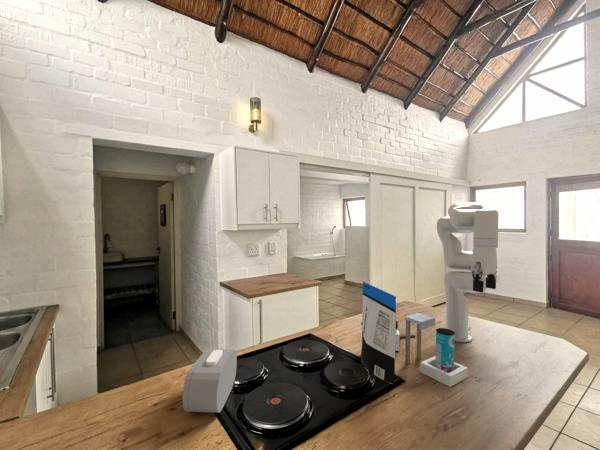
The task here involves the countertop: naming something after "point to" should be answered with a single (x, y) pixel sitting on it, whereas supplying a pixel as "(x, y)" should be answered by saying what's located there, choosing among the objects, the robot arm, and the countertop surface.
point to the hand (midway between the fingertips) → (484, 289)
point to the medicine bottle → (397, 338)
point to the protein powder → (378, 333)
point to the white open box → (430, 364)
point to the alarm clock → (210, 381)
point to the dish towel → (403, 333)
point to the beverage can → (445, 349)
